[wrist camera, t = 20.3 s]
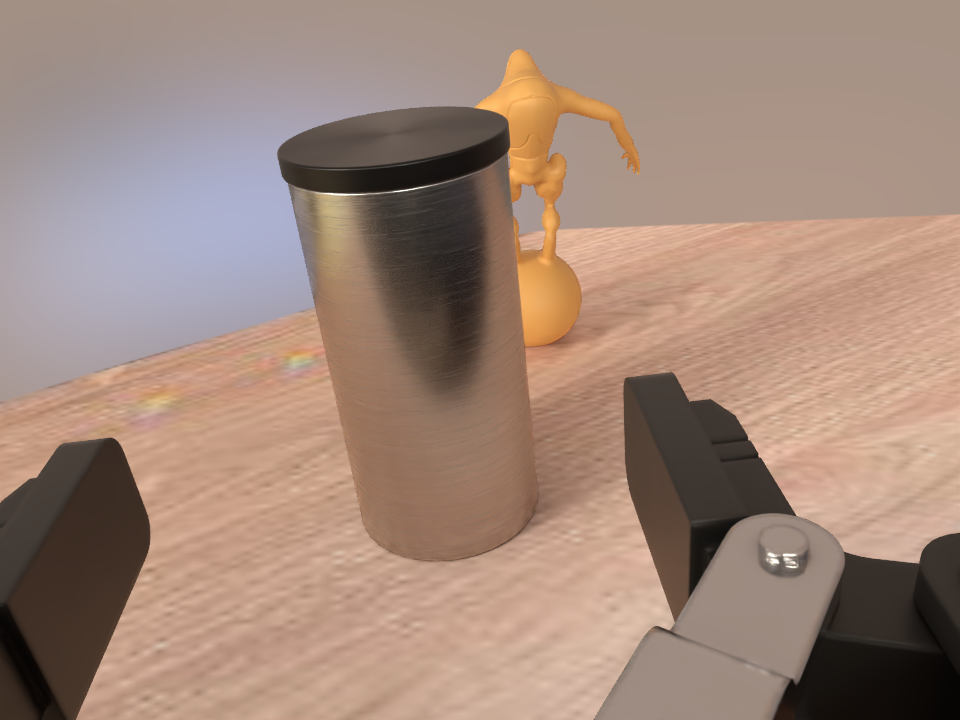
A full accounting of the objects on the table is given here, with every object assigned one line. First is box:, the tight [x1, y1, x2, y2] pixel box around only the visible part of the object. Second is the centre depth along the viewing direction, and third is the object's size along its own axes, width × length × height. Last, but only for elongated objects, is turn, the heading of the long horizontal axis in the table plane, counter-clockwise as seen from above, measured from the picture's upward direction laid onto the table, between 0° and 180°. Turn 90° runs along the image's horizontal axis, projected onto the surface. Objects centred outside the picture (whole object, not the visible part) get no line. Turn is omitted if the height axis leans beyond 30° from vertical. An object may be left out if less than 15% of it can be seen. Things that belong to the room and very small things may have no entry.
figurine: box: [474, 49, 640, 346], centre depth 31 cm, size 8×6×12 cm
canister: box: [277, 107, 538, 561], centre depth 23 cm, size 6×6×12 cm
